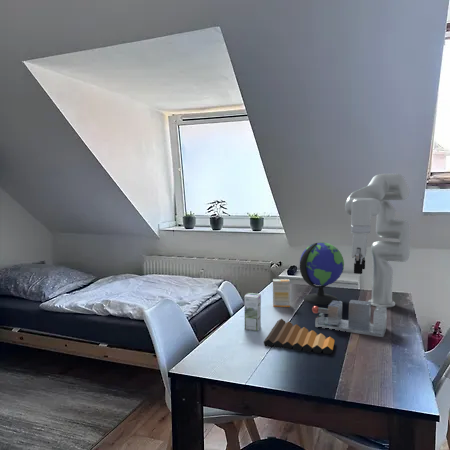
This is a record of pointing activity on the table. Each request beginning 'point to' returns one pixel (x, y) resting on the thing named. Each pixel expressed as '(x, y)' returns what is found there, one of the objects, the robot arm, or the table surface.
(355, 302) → the steel block
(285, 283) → the supplement box
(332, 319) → the free jaw
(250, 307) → the syrup box
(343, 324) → the vise bed
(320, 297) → the globe
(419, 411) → the table surface
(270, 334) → the pan flute
